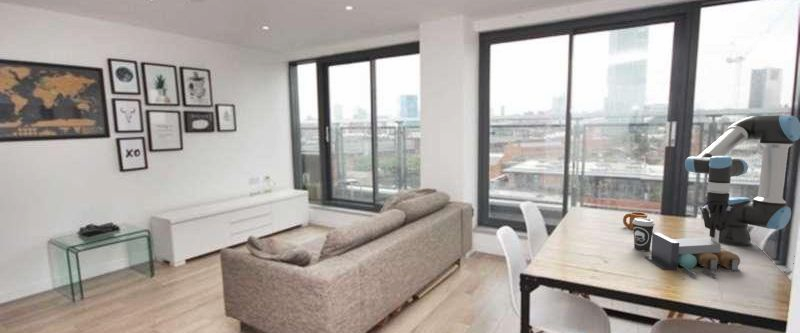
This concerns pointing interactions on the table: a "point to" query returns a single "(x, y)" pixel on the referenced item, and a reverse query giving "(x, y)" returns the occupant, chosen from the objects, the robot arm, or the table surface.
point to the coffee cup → (642, 233)
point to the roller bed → (713, 268)
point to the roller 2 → (705, 258)
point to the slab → (697, 245)
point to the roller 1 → (687, 260)
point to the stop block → (664, 252)
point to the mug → (632, 216)
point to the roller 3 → (726, 257)
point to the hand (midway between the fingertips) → (714, 244)
